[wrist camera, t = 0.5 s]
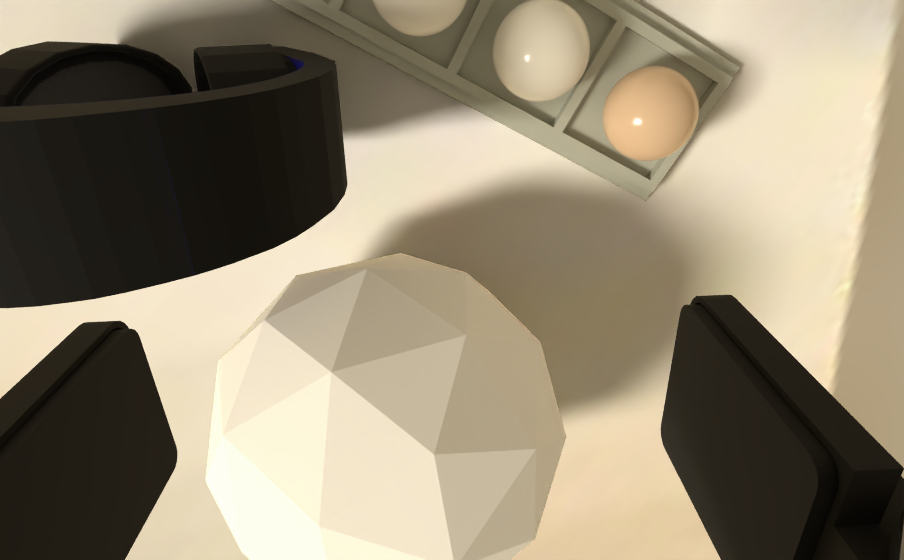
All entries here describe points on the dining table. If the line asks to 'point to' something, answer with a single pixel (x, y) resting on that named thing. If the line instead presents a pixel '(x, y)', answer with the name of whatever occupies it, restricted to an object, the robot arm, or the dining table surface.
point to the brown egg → (650, 113)
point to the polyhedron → (384, 420)
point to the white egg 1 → (419, 15)
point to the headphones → (157, 164)
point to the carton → (549, 122)
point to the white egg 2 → (541, 50)
